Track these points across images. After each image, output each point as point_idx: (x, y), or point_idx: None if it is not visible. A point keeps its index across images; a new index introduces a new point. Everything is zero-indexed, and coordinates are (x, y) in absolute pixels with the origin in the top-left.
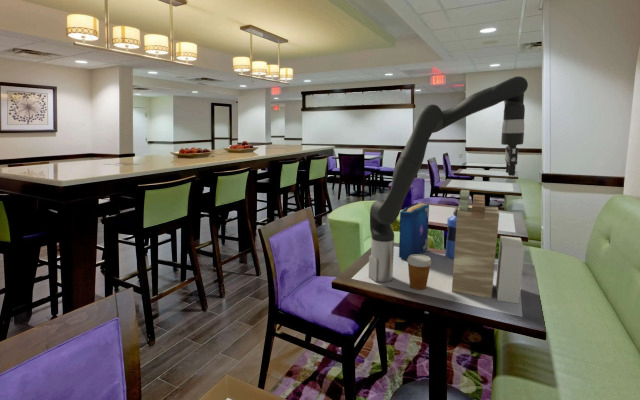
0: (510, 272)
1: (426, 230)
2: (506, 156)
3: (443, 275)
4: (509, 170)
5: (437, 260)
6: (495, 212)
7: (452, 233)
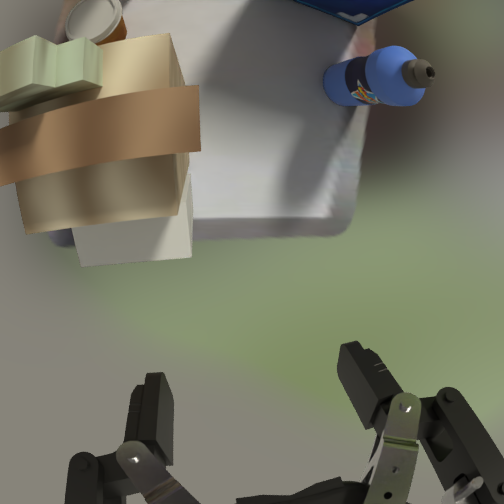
0: None
1: (375, 7)
2: (370, 478)
3: (197, 63)
4: (143, 407)
5: (298, 44)
6: (48, 217)
7: (358, 64)
